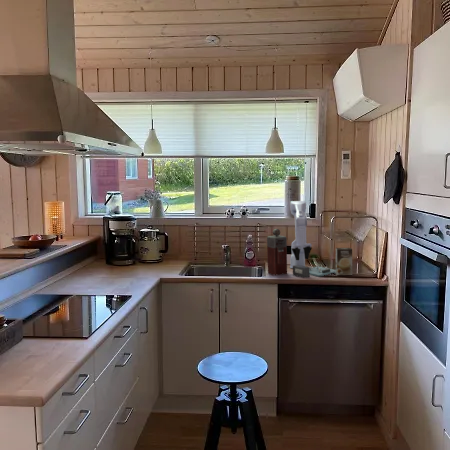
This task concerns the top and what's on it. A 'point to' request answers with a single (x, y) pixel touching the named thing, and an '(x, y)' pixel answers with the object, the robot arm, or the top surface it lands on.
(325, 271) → the teal square peg board
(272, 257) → the brown tall bottle
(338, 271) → the coffee box
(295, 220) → the robot arm
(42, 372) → the top surface
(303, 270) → the drive
